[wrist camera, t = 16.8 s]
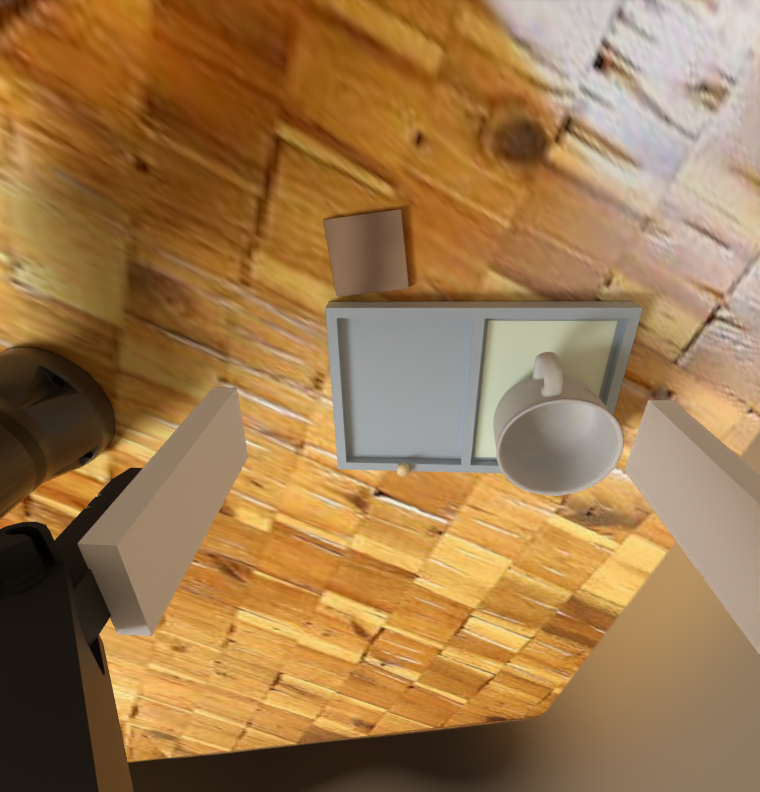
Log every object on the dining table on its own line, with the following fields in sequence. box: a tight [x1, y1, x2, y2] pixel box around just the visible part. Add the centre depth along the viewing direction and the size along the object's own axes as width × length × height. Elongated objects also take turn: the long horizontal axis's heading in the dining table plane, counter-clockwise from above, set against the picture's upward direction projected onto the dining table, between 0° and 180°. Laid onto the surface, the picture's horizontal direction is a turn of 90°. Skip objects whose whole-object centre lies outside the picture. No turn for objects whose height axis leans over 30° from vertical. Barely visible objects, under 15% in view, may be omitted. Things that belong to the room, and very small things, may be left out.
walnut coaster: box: [323, 209, 409, 297], centre depth 40 cm, size 7×7×1 cm
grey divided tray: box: [325, 301, 643, 477], centre depth 45 cm, size 29×19×3 cm, turn 91°
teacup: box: [493, 352, 624, 496], centre depth 41 cm, size 14×11×8 cm
